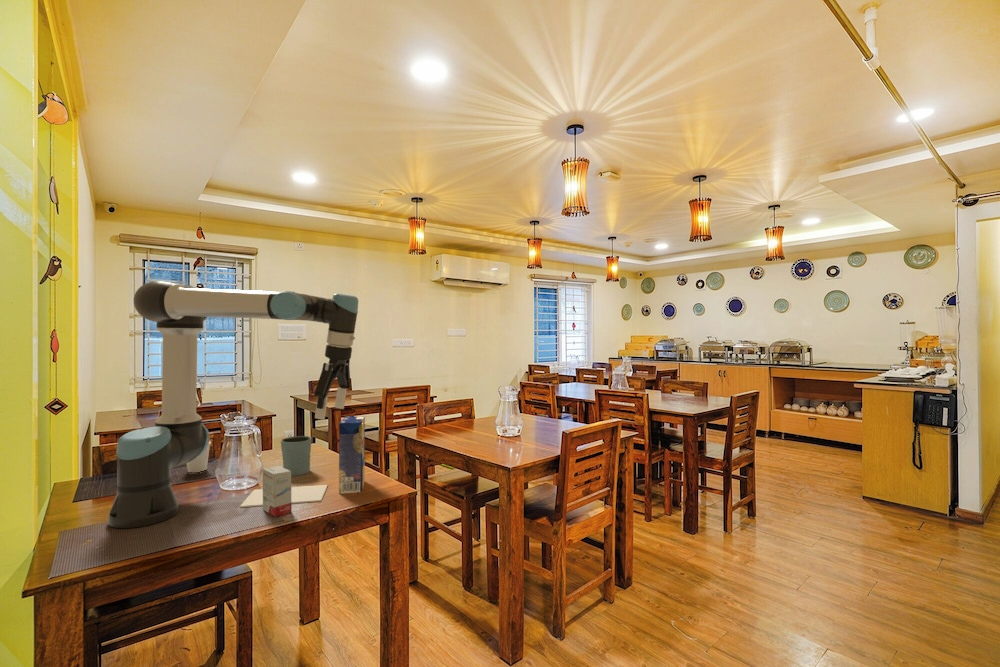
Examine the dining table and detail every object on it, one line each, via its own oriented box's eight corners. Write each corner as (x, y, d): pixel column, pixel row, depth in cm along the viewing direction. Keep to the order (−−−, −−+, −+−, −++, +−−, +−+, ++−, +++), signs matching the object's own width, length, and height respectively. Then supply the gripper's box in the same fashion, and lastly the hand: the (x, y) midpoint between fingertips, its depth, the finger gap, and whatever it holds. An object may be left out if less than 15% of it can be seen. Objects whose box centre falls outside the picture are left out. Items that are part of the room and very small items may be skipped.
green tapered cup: (304, 476, 162) (304, 442, 162) (275, 476, 162) (275, 442, 162) (316, 468, 172) (316, 435, 172) (288, 467, 172) (288, 435, 172)
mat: (239, 507, 134) (239, 506, 134) (254, 490, 147) (254, 489, 147) (321, 501, 139) (321, 500, 139) (327, 485, 152) (327, 484, 152)
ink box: (292, 512, 130) (292, 470, 130) (274, 517, 127) (274, 474, 126) (279, 504, 136) (279, 464, 136) (262, 509, 132) (262, 468, 132)
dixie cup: (177, 474, 164) (177, 446, 164) (194, 467, 172) (194, 440, 172) (200, 474, 164) (200, 446, 163) (216, 467, 172) (216, 440, 172)
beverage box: (364, 481, 157) (364, 416, 157) (361, 492, 146) (362, 422, 146) (343, 482, 156) (343, 417, 156) (339, 493, 145) (339, 423, 145)
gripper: (333, 351, 128) (323, 426, 130) (366, 343, 153) (357, 406, 155) (307, 347, 129) (297, 421, 130) (344, 339, 154) (335, 402, 155)
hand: (329, 413), depth 143 cm, fingers open, 13 cm apart
